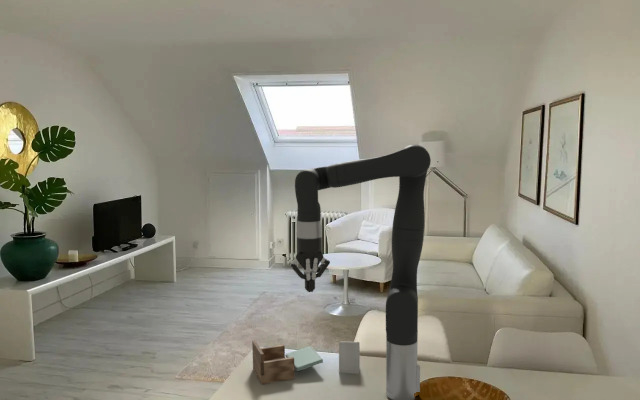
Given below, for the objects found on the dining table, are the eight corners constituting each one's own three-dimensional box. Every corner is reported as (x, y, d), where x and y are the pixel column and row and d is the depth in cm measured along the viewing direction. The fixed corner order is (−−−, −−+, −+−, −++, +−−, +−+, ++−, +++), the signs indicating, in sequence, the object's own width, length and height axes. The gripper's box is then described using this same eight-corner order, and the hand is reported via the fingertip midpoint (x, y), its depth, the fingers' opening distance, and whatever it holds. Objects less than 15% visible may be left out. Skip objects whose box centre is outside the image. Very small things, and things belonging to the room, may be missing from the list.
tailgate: (285, 357, 176) (311, 348, 179) (295, 371, 165) (323, 362, 168) (284, 354, 176) (310, 345, 179) (295, 368, 164) (322, 359, 168)
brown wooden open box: (284, 364, 176) (283, 336, 175) (294, 378, 165) (294, 349, 164) (253, 369, 172) (252, 340, 171) (261, 384, 161) (260, 354, 160)
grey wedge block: (359, 373, 168) (359, 344, 167) (339, 372, 169) (338, 343, 168) (359, 368, 172) (359, 340, 171) (339, 367, 172) (339, 339, 171)
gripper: (292, 239, 147) (293, 297, 149) (334, 235, 152) (334, 292, 154) (284, 234, 154) (285, 290, 156) (325, 231, 159) (325, 285, 161)
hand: (310, 291), depth 155 cm, fingers closed
